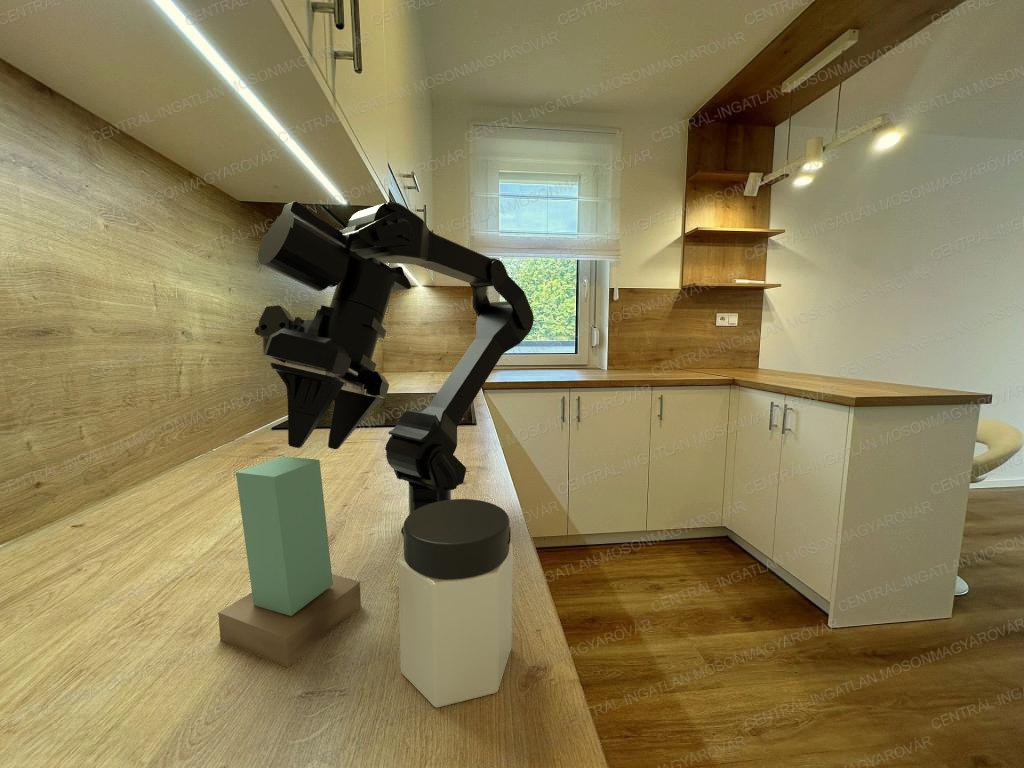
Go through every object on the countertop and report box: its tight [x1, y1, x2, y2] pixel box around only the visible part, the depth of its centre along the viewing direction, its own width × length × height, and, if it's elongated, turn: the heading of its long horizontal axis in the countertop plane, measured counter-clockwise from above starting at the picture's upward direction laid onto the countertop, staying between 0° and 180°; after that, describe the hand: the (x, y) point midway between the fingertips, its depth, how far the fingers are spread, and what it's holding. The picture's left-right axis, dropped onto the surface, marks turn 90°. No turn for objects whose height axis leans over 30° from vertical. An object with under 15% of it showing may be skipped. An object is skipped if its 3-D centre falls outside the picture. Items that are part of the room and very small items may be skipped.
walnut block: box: [217, 573, 362, 669], centre depth 37 cm, size 8×8×3 cm
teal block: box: [235, 455, 333, 616], centre depth 36 cm, size 4×4×12 cm
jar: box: [397, 498, 514, 708], centre depth 32 cm, size 9×8×12 cm
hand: (315, 447), depth 43 cm, fingers open, 9 cm apart
